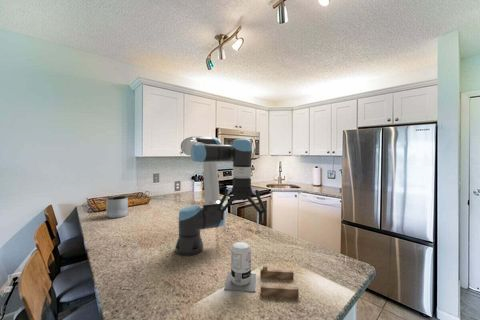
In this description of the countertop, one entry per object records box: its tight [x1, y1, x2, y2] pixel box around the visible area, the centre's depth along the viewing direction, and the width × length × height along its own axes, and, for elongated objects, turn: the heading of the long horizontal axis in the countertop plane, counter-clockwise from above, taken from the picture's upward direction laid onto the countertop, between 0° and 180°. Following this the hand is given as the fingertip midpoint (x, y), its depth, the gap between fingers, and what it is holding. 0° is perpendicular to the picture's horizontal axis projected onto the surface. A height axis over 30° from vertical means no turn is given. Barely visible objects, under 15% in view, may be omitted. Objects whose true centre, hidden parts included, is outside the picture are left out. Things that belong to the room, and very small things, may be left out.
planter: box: [105, 195, 129, 219], centre depth 180 cm, size 16×16×16 cm
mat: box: [223, 271, 257, 293], centre depth 88 cm, size 12×12×1 cm
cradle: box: [259, 264, 300, 299], centre depth 85 cm, size 14×13×4 cm
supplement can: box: [230, 241, 252, 286], centre depth 88 cm, size 8×8×15 cm
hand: (241, 228), depth 87 cm, fingers open, 13 cm apart
